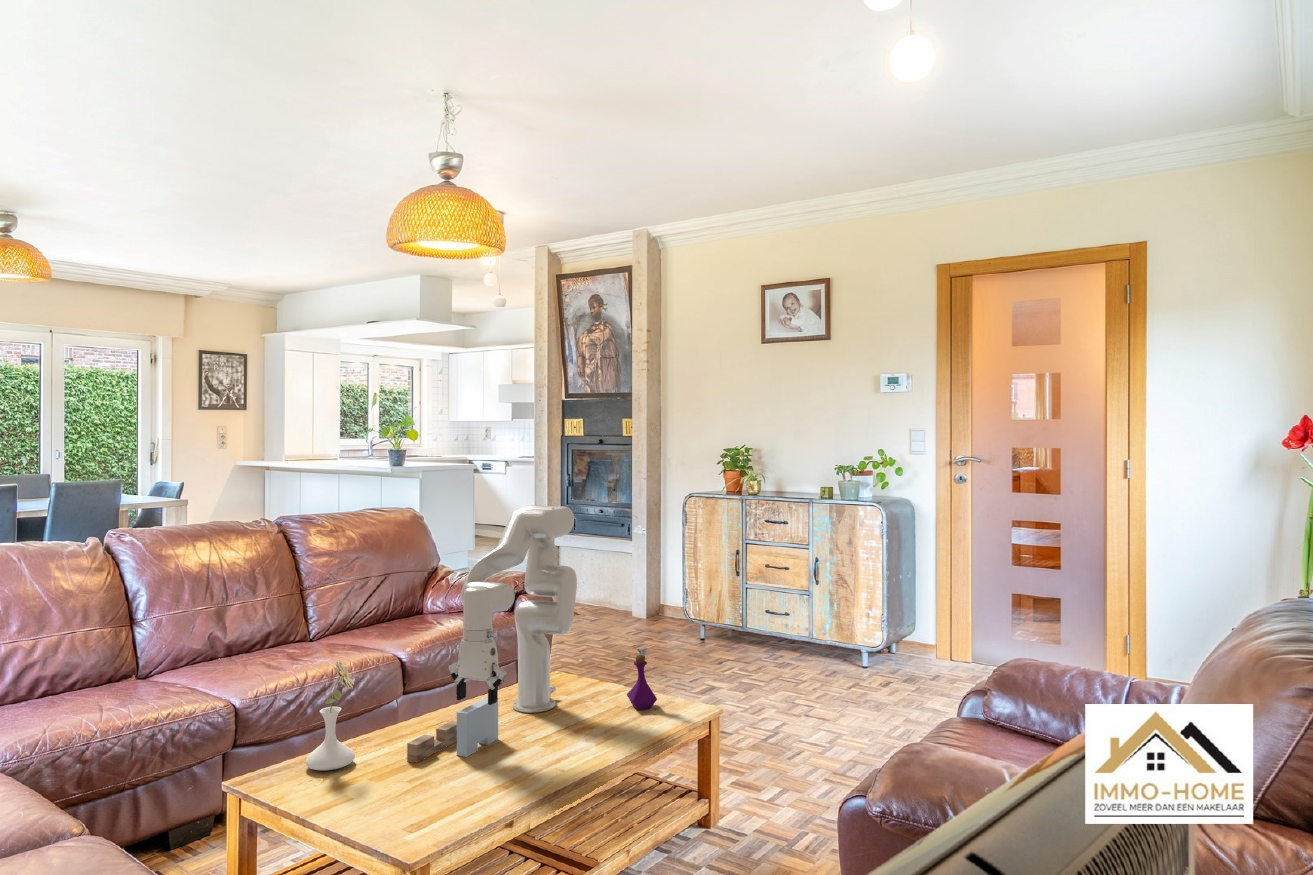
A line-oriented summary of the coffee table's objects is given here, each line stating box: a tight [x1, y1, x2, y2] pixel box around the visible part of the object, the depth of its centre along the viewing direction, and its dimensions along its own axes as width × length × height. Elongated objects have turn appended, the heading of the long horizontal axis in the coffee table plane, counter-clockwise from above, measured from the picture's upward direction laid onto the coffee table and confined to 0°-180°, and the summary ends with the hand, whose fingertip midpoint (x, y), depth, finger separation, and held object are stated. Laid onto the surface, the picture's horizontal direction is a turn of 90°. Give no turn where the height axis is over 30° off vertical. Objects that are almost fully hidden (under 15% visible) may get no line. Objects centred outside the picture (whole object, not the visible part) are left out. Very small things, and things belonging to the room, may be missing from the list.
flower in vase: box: [304, 660, 356, 771], centre depth 206 cm, size 13×11×25 cm
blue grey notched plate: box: [456, 696, 499, 758], centre depth 218 cm, size 3×14×11 cm, turn 157°
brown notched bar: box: [406, 720, 457, 764], centre depth 216 cm, size 18×3×4 cm, turn 157°
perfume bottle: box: [626, 647, 658, 711], centre depth 250 cm, size 8×8×18 cm
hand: (476, 701), depth 217 cm, fingers open, 9 cm apart
